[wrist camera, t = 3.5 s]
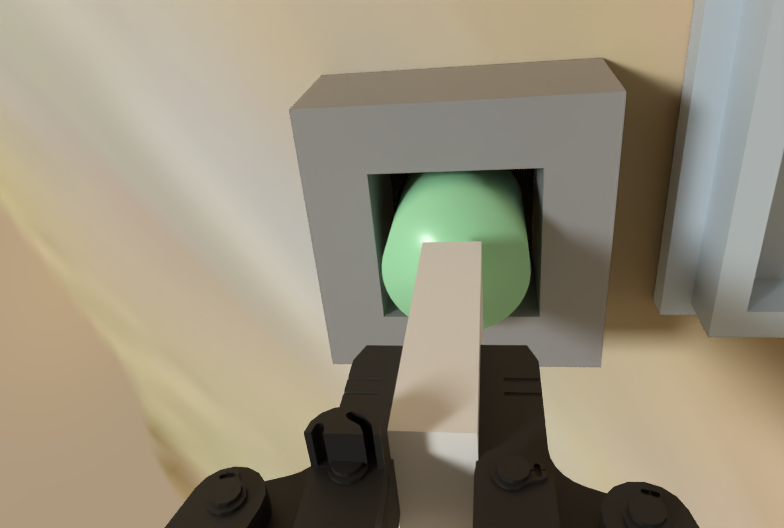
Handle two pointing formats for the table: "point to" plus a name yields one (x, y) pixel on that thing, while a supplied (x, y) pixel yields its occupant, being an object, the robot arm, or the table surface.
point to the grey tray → (728, 175)
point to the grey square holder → (466, 153)
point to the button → (462, 234)
